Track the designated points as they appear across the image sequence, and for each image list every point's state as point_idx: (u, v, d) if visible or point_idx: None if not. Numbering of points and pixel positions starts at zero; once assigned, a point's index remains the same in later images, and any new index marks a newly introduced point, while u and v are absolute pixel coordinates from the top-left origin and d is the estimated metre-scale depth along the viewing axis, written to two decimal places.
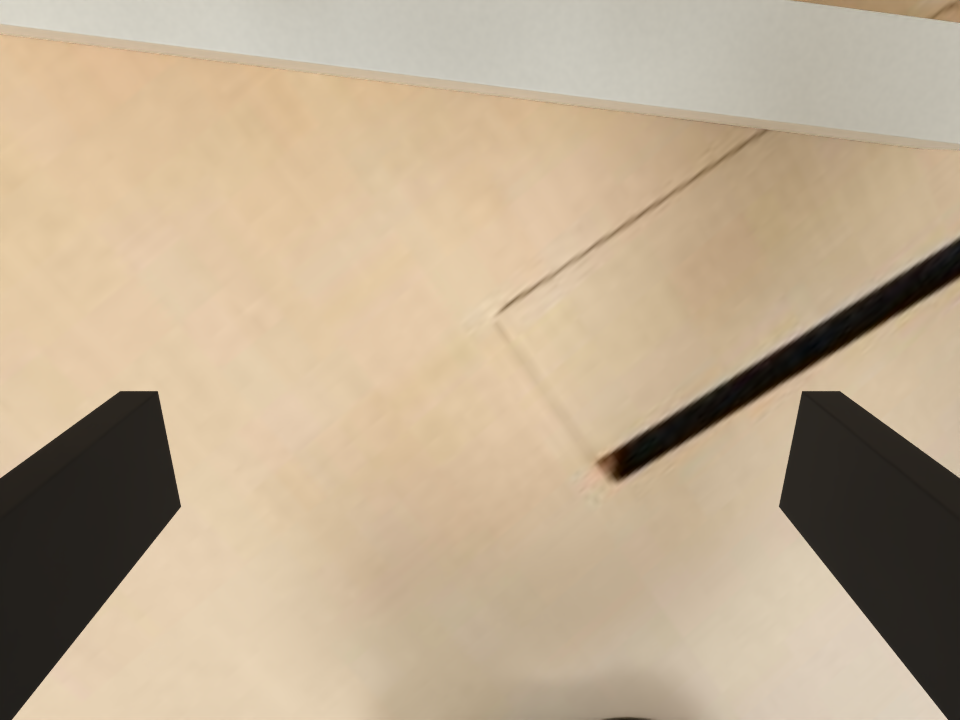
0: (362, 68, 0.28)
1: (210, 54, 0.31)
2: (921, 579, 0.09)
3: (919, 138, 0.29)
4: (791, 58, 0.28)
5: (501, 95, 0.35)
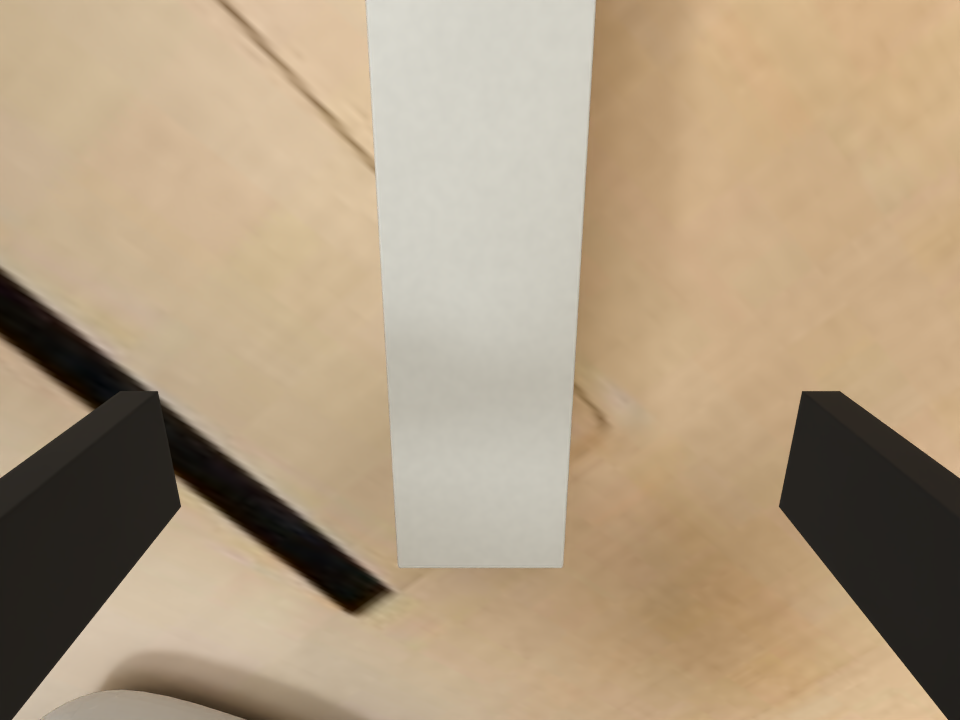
0: None
1: None
2: (922, 579, 0.09)
3: (389, 394, 0.17)
4: (489, 109, 0.14)
5: None
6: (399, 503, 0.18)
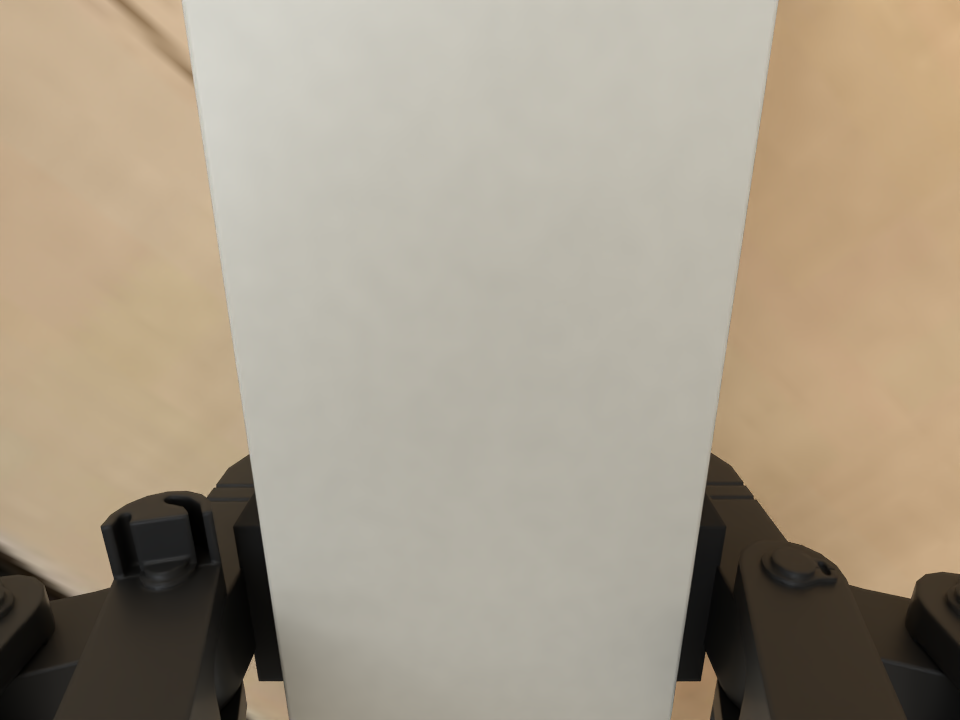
0: None
1: None
2: None
3: (287, 689, 0.08)
4: (503, 76, 0.05)
5: None
6: None
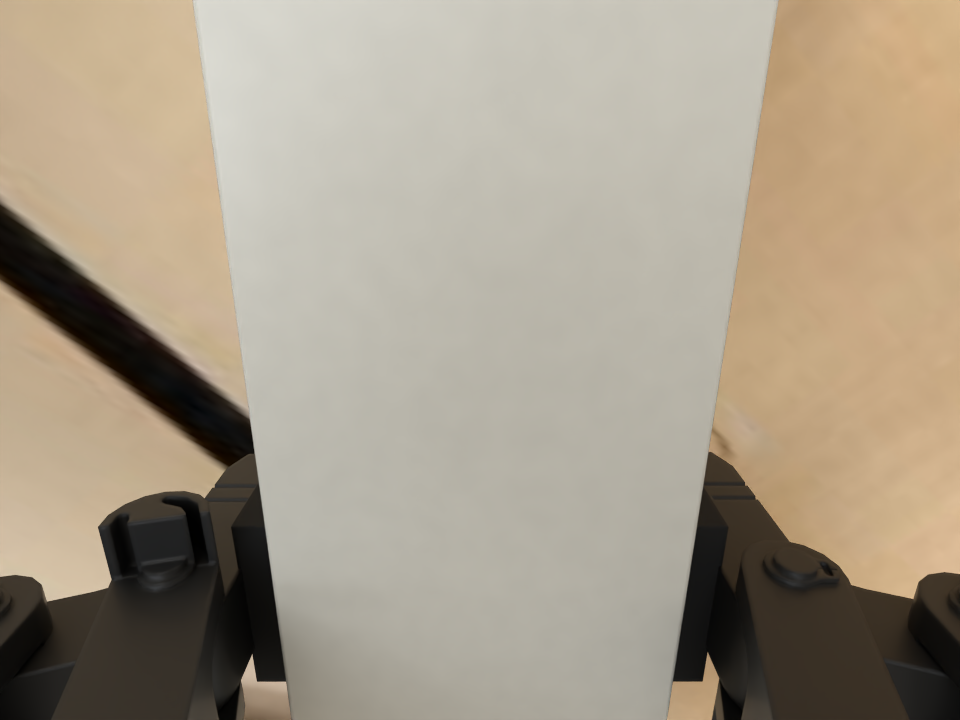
0: None
1: None
2: None
3: (289, 679, 0.08)
4: (507, 76, 0.05)
5: None
6: None
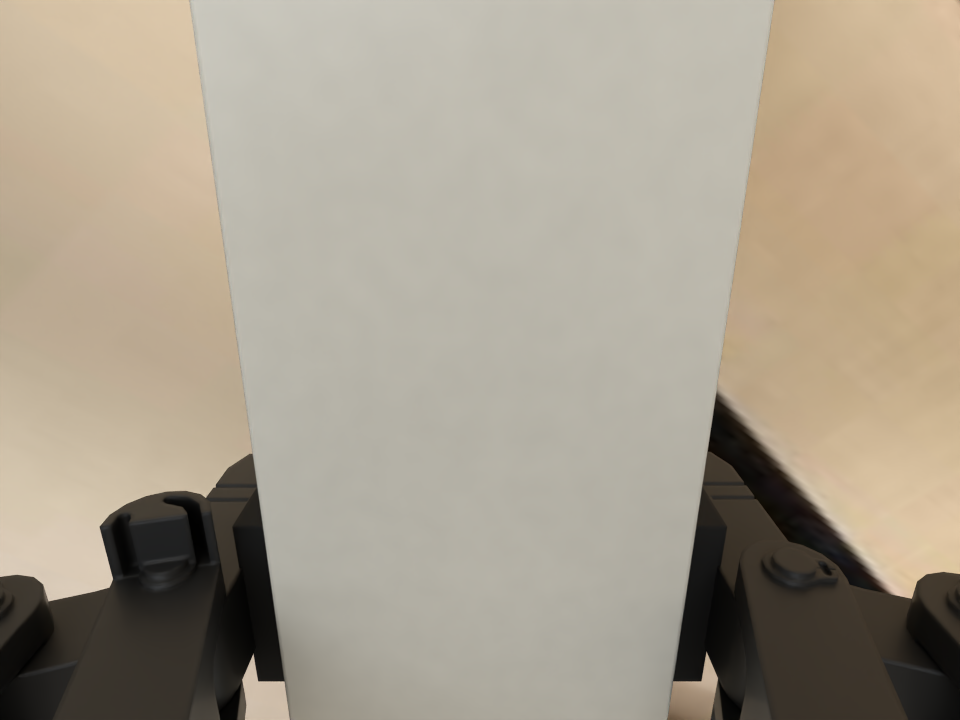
0: None
1: None
2: None
3: (287, 681, 0.08)
4: (502, 74, 0.05)
5: None
6: None
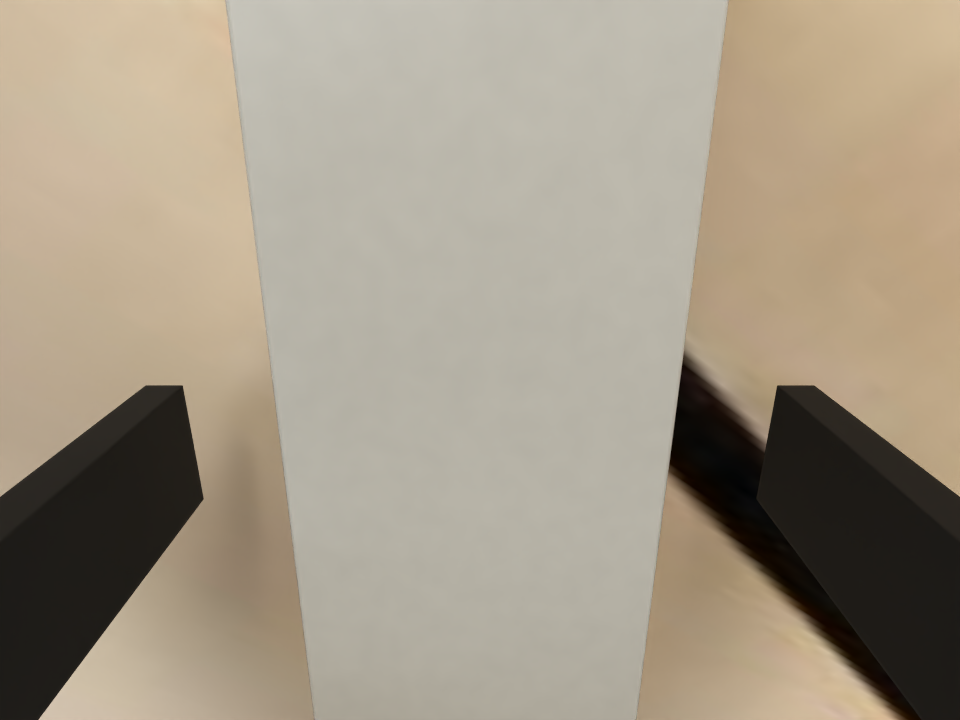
0: None
1: None
2: (884, 566, 0.09)
3: (303, 606, 0.09)
4: (496, 50, 0.06)
5: None
6: None
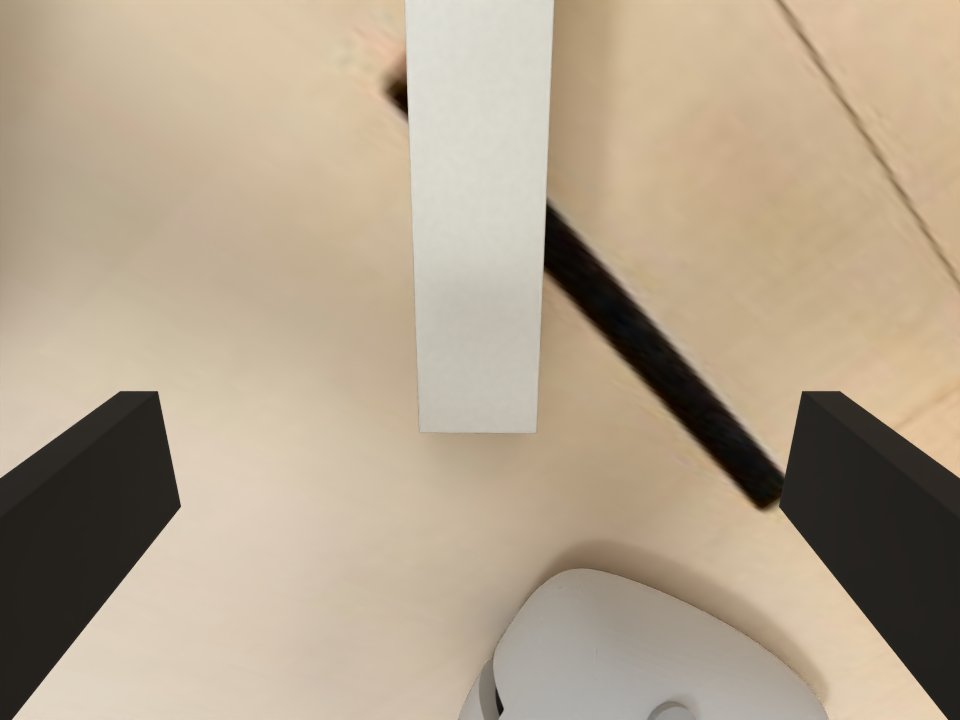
0: None
1: None
2: (922, 579, 0.09)
3: (415, 302, 0.24)
4: (484, 106, 0.22)
5: None
6: (421, 383, 0.25)
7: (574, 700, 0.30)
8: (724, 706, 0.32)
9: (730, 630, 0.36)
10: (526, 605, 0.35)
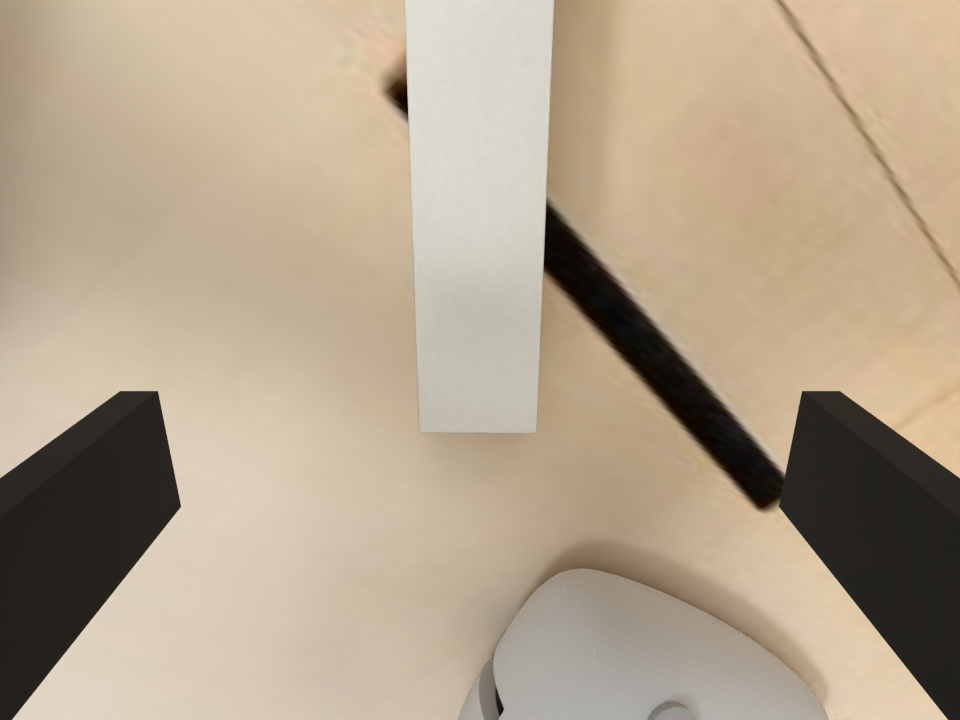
0: None
1: None
2: (922, 579, 0.09)
3: (415, 302, 0.24)
4: (484, 106, 0.22)
5: None
6: (421, 383, 0.25)
7: (574, 700, 0.30)
8: (724, 706, 0.32)
9: (730, 630, 0.36)
10: (526, 605, 0.35)
